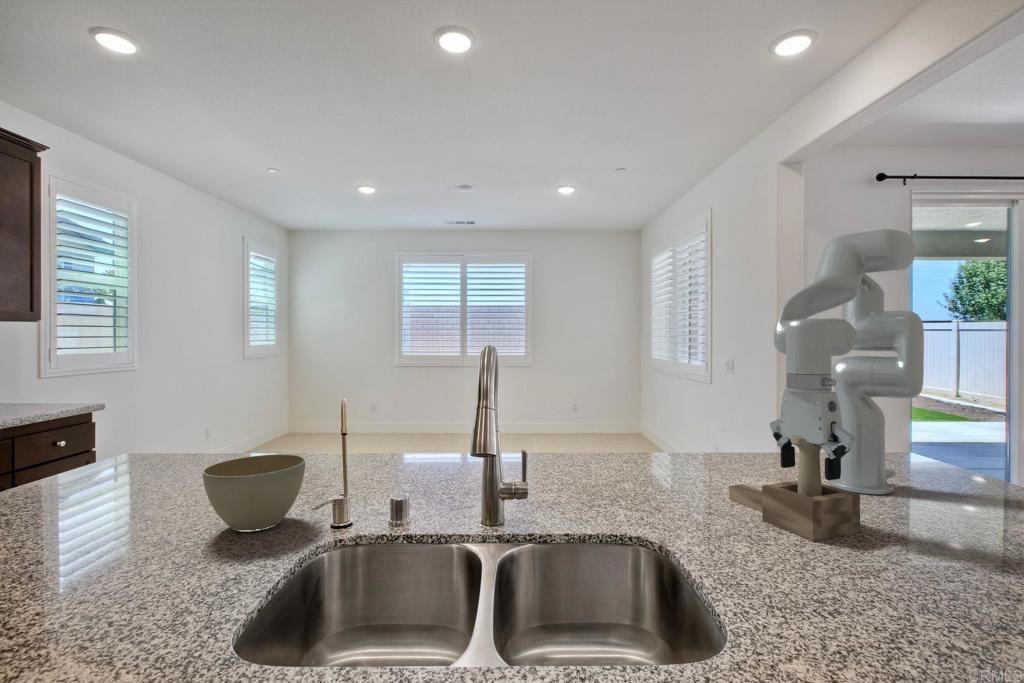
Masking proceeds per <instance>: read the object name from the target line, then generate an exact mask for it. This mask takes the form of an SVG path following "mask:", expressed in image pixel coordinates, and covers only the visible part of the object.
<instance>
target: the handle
mask: <svg viewBox="0 0 1024 683" xmlns="http://www.w3.org/2000/svg"><path fill="white" fill-rule="evenodd" d="M791 443H793V445H794V446H796V447H797V448H798V451H799V455H798V456H799V458H798V460H799V461H798V472H797V473H798V476H797V481H798V494H802V495H805V496H808V497H816V496H822V494H821V493H822V487H821V486H822V484H823V483H822V476H821V475H822V473H821V472H822V471H821V457H820V456H821V455H820V454H821V450H823V448H822V447H821V446H819V445H813V444H810V443H808V442H806V439H803V438H798V437H793V436H791ZM821 483H822V484H821Z"/></svg>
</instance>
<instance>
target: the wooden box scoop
mask: <svg viewBox="0 0 1024 683" xmlns="http://www.w3.org/2000/svg"><path fill="white" fill-rule="evenodd" d="M821 484H822V486H821V487H822V493H821V494H822V496H816V497H808V496H805V495H802V494H798V480H792V481H785V482H777V483H770V484H763V485H761V487H762V488H761V489H758V488H757V487H756V488H755V487H752V486H749V485H747V484H743V483H742V484H741V483H740V484H735V485H729V486H728V500H729V499H730V500H729V501H732V502H735V503H738V504H740V503H741V504H740V505H742V504H743V506H745V507H747V506H748V508H750V509H752V510H755V509H756V510H755V511H758V512H761V513H762V514H761V515H762V517H761V518H762V520H761V522H764V521H765V522H764V523H767V522H768V523H767V524H769V523H770V524H769V525H771V524H772V526H774V525H775V526H774V527H776V526H777V528H779V529H780V530H781V529H782V530H784V531H787V532H789V533H790V534H793V535H796V536H799V537H801V538H804V539H806V540H809V541H811V542H816V541H817V540H818V541H823V540H827V539H832V537H833V538H836V537H842V535H843V536H848V535H853V534H858V533H861V493H857V492H851V491H847V490H843V489H839V488H837V487H834V486H833V485H828V484H825V483H822V482H821Z"/></svg>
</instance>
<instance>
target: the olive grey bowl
mask: <svg viewBox="0 0 1024 683" xmlns="http://www.w3.org/2000/svg"><path fill="white" fill-rule="evenodd" d="M305 469H306V458H305V457H303V456H302V455H301V456H300V455H296V454H284V453H283V454H282V453H281V454H280V453H279V454H277V453H276V454H263V455H261V454H260V455H252V456H245V457H239V458H232V459H229V460H223V461H220V462H217V463H213V464H211V465H209V466H206V467H205V468H203V470H202V481H203V486H204V489H205V492H206V495H207V498H208V501H209V502H210V505H211V507H212V508H213V510H214V512H215V513H216V514H217V515H218V517H219V518H220V519H221V520H222V521H223V522H224V524H226V525H227V526H228V527H229V528H230V529H231V528H232V529H231V530H233V529H235V530H256V529H263V528H267V527H270V526H273V525H276V524H278V523H279V522H280V523H281V522H282V521H283V519H284V518H285V517H286V515H287V514H288V512H290V510H291V508H292V507H293V506H294V503H295V501H296V500H297V498H298V495H299V493H300V490H301V487H302V484H303V480H304V475H305ZM280 523H279V524H280ZM279 524H278V525H279ZM276 526H277V525H276Z"/></svg>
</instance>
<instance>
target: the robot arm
mask: <svg viewBox="0 0 1024 683" xmlns="http://www.w3.org/2000/svg"><path fill="white" fill-rule="evenodd" d="M915 256H916V244H915V242H914V239H913V238H912V236H911V235H910V234H909V233H908V232H905V231H902V230H900V229H899V230H898V229H892V228H890V229H889V228H885V229H876V230H875V229H874V230H869V231H863V232H861V231H860V232H855V233H853V232H852V233H846V234H842V235H838V236H836V237H833V238H831V240H829V241H828V242H827V244H826V245H825V246H824V249H823V252H822V254H821V259H820V262H819V265H818V268H817V270H816V274H815V275H814V276H815V277H814V281H812V282H811V283H809V284H807V285H806V286H805V287H803V288H802V289H800V290H799V291H798V292H796V293H795V294H793V295H792V296H791V297H790V298H789V299H788V300H787V301H786V302H785V303H784V304H783V305H782V307H781V310H779V314H778V316H777V320H776V324H775V326H774V330H773V344H774V348H775V349H776V351H778V352H779V353H781V354H782V355H785V382H786V383H785V385H786V386H785V388H784V389H783V394H782V398H781V403H780V404H781V405H780V416H779V417H780V418H777V419H775V420H773V421H772V422H770V423H769V427H770V430H771V433H772V436H773V438H774V440H775V441H776V442H777V443H776V444H777V447H778V448H780V468H782V469H788V468H794V467H796V449H795V446H793V445H794V444H793V443H791V436H793V437H798V438H803V439H806V442H808V443H810V444H813V445H819V446H821V447H822V450H823V451H824V452H825V455H826V456H827V457H825V458H824V479H825V480H826V481H829V483H830V486H832V487H836V488H839V489H843V490H847V491H850V492H854V493H857V494H865V495H889V494H892V493H893V492H894V491H895V490H894V488H895V487H894V485H893V484H891V483H889V482H888V480H887V479H890V478H895V477H896V475H897V472H896V470H895V469H893V468H889V469H887V468H886V437H885V436H886V435H885V434H886V428H885V427H886V424H885V423H886V422H885V421H886V420H885V415H884V412H883V410H882V409H881V408H880V406H879V405H878V404H877V402H875V401H874V400H873V398H890V399H892V398H893V399H913V398H917V397H918V396H920V394H921V393H922V390H923V387H924V369H925V368H924V366H925V365H924V364H925V362H924V361H925V358H924V357H925V356H924V355H925V332H924V331H925V329H924V324H923V320H922V318H921V317H920V316H919V314H917V313H916V312H914V311H910V310H885V292H884V290H883V289H882V286H880V285H879V284H878V282H877V281H875V280H874V279H873V278H872V277H870V275H868V273H869V274H870V273H880V272H889V271H891V272H893V271H903V270H906V269H908V268H909V267H910V266H912V264H913V263H914V262H913V261H914V260H915ZM840 306H841V318H834V317H832V318H809V317H812V316H815V315H817V314H819V313H823V312H826V311H829V310H832V309H834V308H837V307H840ZM851 351H855V352H859V351H860V352H895V353H897V355H898V356H876V355H873V356H872V355H871V356H870V355H852V356H851V355H850V356H845V357H842V358H841V357H840V356H844V355H846V354H849V353H850V352H851ZM832 357H840V358H839V359H837V360H836V361H835V362H834V363H833V364H832ZM832 388H833V390H834V391H833V390H832Z"/></svg>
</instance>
